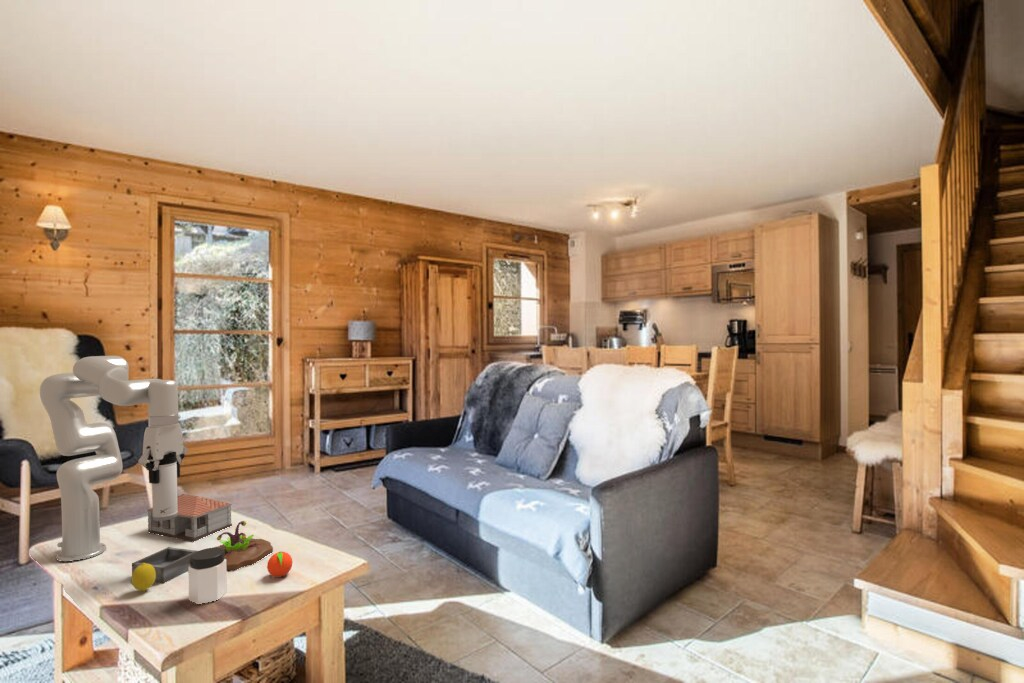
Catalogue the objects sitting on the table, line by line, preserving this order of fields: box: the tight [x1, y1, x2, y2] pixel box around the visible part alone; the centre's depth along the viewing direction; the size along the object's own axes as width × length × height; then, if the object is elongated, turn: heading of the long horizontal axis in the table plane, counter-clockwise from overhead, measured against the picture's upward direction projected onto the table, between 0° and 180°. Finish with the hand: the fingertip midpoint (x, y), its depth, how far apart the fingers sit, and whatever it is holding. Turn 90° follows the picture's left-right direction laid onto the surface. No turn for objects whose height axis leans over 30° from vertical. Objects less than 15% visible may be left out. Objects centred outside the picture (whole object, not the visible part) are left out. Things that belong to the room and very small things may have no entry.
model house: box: [147, 493, 233, 543], centre depth 191 cm, size 24×16×15 cm, turn 69°
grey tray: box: [131, 546, 198, 584], centre depth 157 cm, size 12×12×4 cm
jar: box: [187, 547, 228, 605], centre depth 141 cm, size 9×8×12 cm
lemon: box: [131, 563, 156, 592], centre depth 145 cm, size 6×6×8 cm
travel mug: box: [151, 452, 178, 521], centre depth 156 cm, size 6×7×20 cm
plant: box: [213, 520, 274, 571], centre depth 167 cm, size 20×20×11 cm
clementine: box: [266, 551, 293, 578], centre depth 153 cm, size 8×7×7 cm
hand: (164, 479), depth 156 cm, fingers closed on travel mug, 6 cm apart
